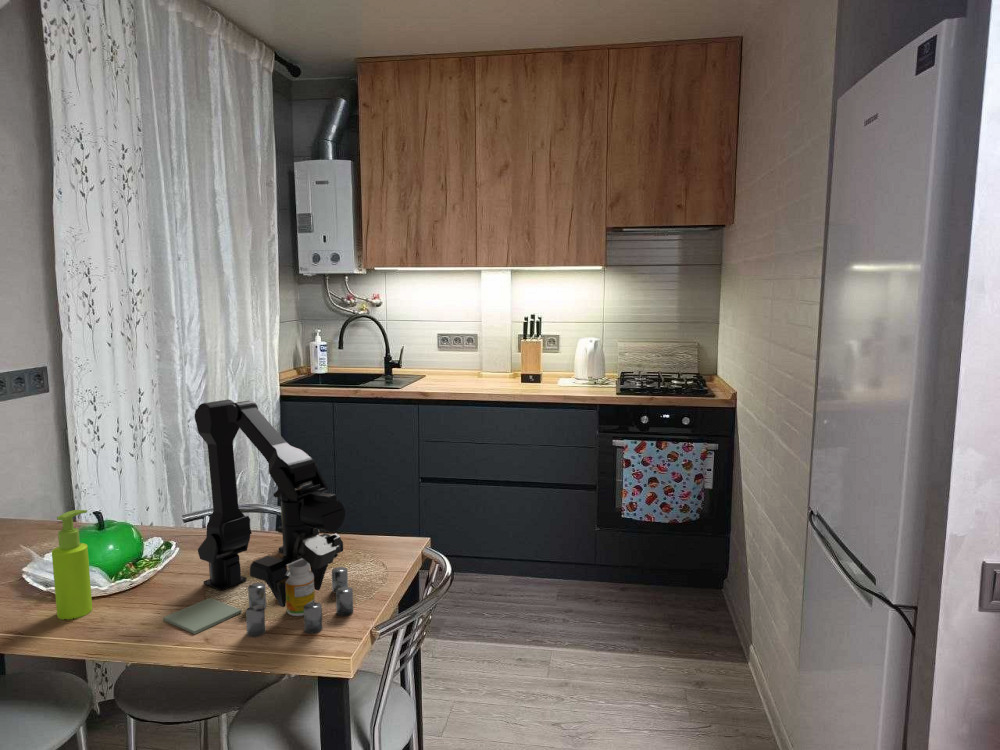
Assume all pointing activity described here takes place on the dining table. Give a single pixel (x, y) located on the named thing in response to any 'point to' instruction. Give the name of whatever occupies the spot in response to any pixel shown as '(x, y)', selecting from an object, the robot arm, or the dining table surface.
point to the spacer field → (311, 610)
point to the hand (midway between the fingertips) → (300, 598)
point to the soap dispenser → (71, 571)
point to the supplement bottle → (299, 588)
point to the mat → (202, 615)
